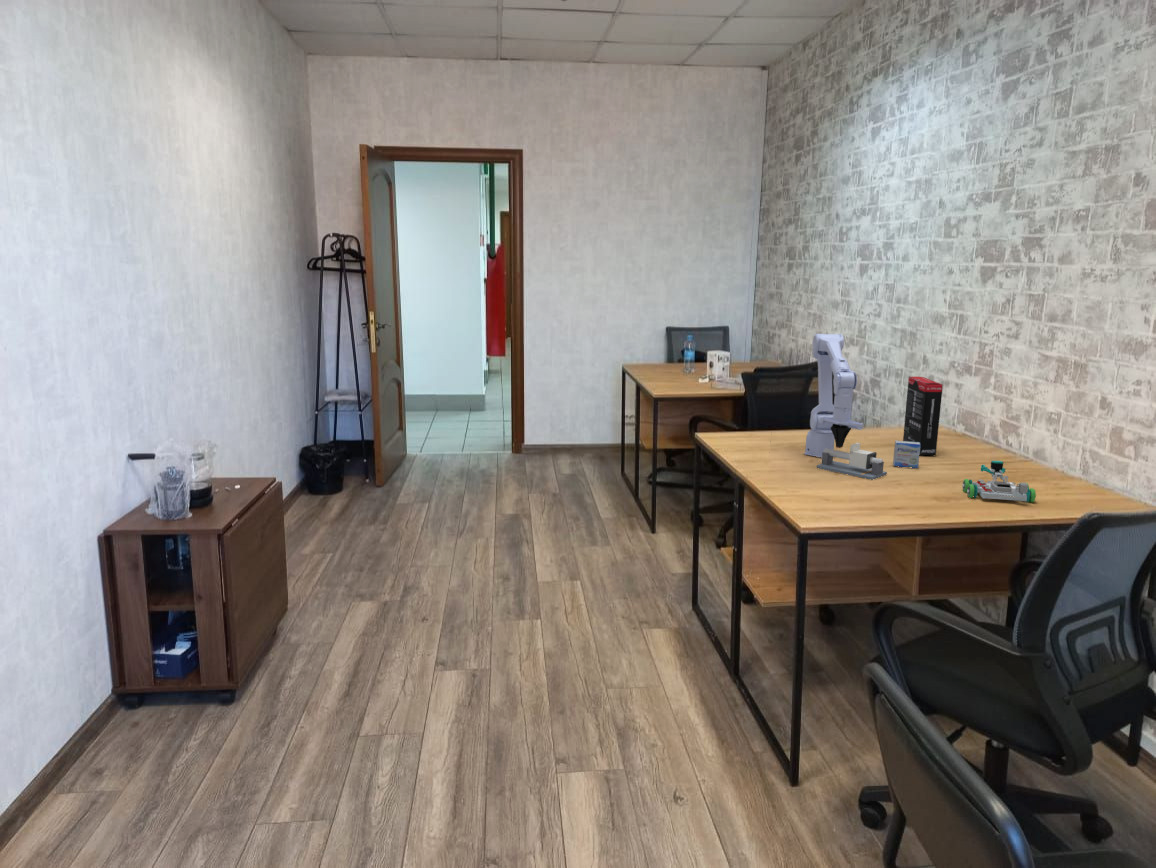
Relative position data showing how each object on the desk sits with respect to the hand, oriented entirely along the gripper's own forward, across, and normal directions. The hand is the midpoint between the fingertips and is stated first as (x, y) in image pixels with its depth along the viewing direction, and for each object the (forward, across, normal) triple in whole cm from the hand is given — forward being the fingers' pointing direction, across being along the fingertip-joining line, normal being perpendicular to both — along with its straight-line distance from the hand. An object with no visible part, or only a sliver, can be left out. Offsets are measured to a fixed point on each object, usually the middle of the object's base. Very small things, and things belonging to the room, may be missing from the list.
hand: (839, 447), depth 269 cm
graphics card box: (+8, +7, +47) cm, 48 cm away
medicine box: (+8, +14, +21) cm, 26 cm away
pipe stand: (+8, +5, 0) cm, 9 cm away
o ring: (+5, +12, 0) cm, 13 cm away
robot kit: (+8, +47, +10) cm, 48 cm away
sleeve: (+5, +8, 0) cm, 10 cm away
